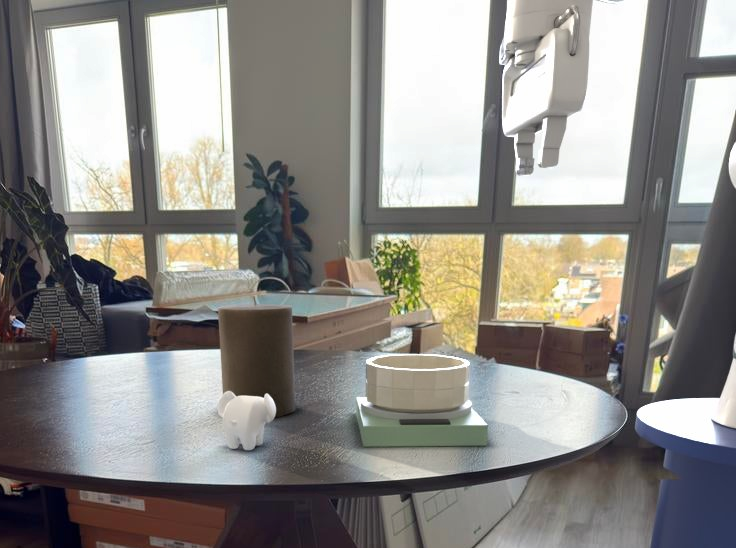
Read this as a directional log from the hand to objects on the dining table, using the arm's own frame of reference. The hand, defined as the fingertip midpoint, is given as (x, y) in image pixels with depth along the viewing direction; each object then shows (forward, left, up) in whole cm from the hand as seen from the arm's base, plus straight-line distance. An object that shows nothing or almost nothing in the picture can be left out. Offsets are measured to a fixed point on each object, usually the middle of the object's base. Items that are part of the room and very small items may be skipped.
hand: (535, 171), depth 82 cm
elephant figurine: (+33, +10, -29) cm, 45 cm away
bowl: (+13, +3, -26) cm, 29 cm away
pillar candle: (+33, -8, -29) cm, 45 cm away
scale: (+13, +3, -29) cm, 32 cm away
